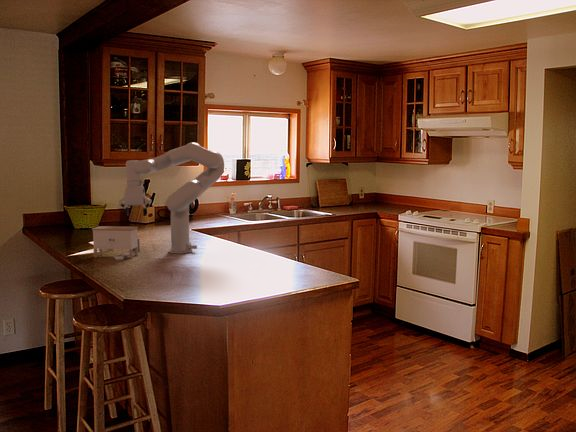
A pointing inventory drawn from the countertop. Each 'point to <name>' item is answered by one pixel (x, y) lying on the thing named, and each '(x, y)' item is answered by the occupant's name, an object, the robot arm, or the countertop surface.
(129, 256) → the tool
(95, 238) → the cabinet
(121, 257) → the round metal knob
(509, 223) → the countertop surface
